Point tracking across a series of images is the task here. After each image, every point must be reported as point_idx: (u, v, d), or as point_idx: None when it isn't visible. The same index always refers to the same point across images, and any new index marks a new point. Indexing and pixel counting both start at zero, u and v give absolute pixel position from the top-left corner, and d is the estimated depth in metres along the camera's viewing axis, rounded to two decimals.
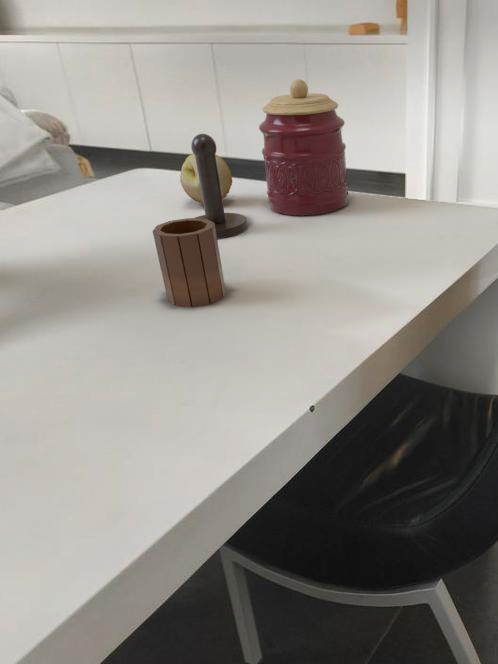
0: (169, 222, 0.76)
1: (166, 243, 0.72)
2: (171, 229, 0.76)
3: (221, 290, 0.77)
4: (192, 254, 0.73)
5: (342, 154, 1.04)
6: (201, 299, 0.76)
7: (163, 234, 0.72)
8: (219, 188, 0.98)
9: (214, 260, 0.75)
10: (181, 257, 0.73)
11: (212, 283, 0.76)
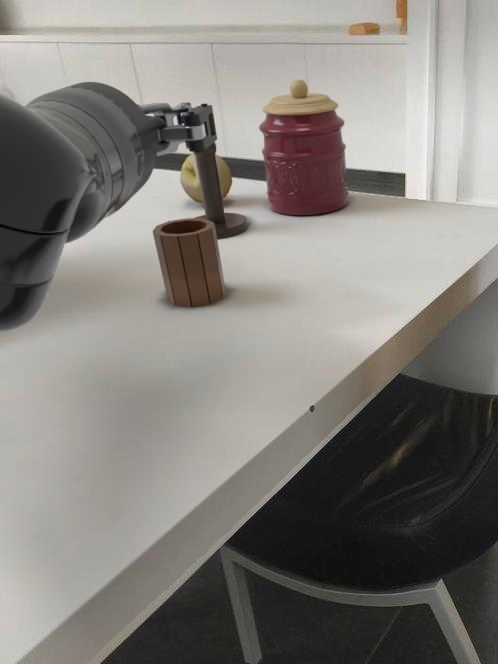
0: (169, 222, 0.76)
1: (166, 243, 0.72)
2: (171, 229, 0.76)
3: (221, 290, 0.77)
4: (192, 254, 0.73)
5: (342, 154, 1.04)
6: (201, 299, 0.76)
7: (163, 234, 0.72)
8: (219, 188, 0.98)
9: (214, 260, 0.75)
10: (181, 257, 0.73)
11: (212, 283, 0.76)
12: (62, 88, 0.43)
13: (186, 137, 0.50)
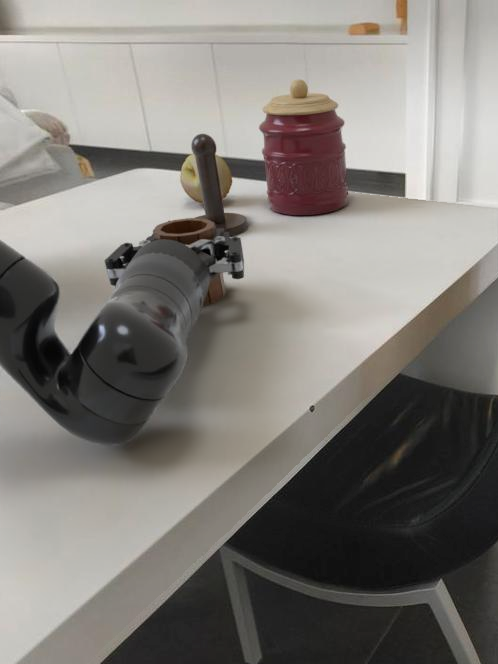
0: (170, 222, 0.76)
1: None
2: (171, 229, 0.76)
3: (221, 290, 0.77)
4: None
5: (342, 154, 1.04)
6: None
7: (163, 234, 0.72)
8: (219, 188, 0.98)
9: None
10: None
11: (212, 283, 0.76)
12: (148, 253, 0.62)
13: (231, 269, 0.69)
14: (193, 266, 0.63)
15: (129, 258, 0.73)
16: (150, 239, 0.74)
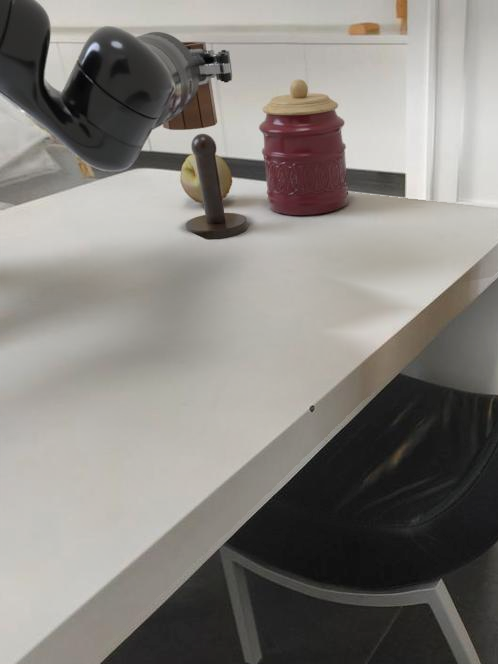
0: None
1: None
2: None
3: (211, 110, 0.83)
4: None
5: (342, 154, 1.04)
6: (193, 115, 0.82)
7: None
8: (219, 188, 0.98)
9: None
10: None
11: (203, 100, 0.81)
12: None
13: (219, 71, 0.75)
14: (183, 52, 0.69)
15: None
16: None
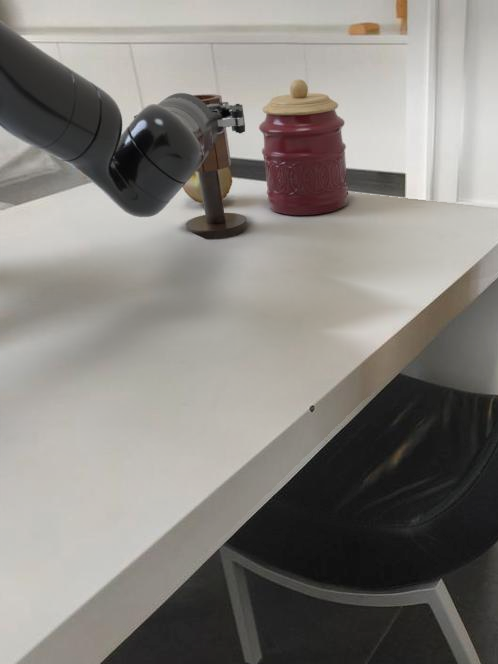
0: None
1: None
2: None
3: (226, 154, 0.94)
4: None
5: (342, 154, 1.04)
6: (210, 159, 0.93)
7: None
8: (219, 188, 0.98)
9: None
10: None
11: (219, 146, 0.93)
12: (170, 98, 0.79)
13: (234, 124, 0.86)
14: (205, 111, 0.81)
15: None
16: None
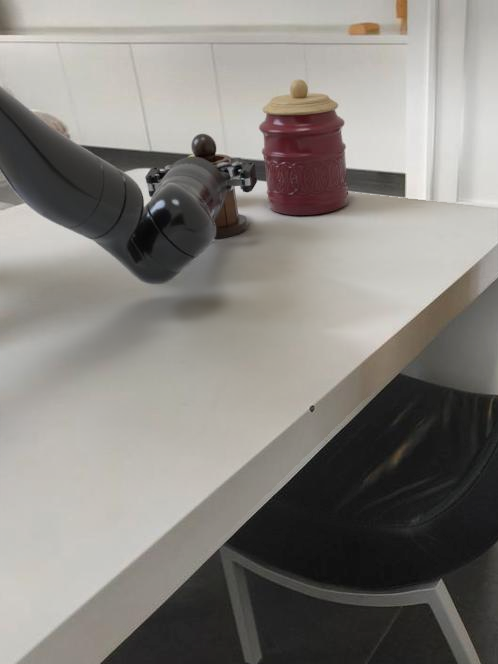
0: None
1: None
2: None
3: (235, 210, 0.99)
4: None
5: (342, 154, 1.04)
6: (219, 216, 0.98)
7: None
8: None
9: None
10: None
11: (228, 204, 0.98)
12: (182, 163, 0.83)
13: (241, 184, 0.90)
14: (215, 175, 0.85)
15: None
16: (173, 165, 0.95)
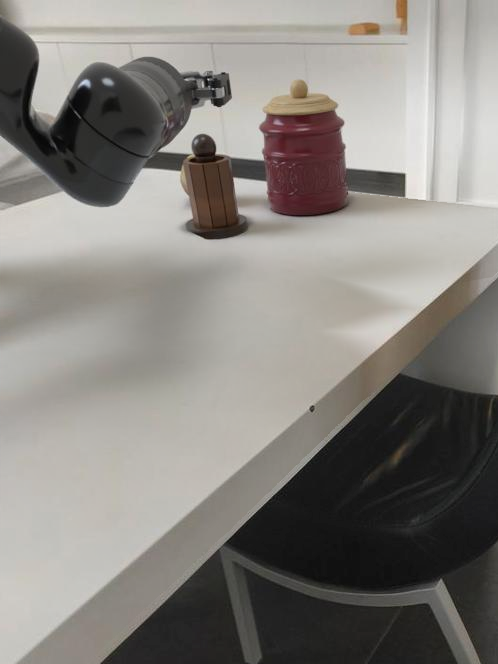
0: None
1: (193, 170, 0.94)
2: None
3: (235, 210, 0.99)
4: (213, 179, 0.95)
5: (342, 154, 1.04)
6: (219, 216, 0.98)
7: (191, 163, 0.94)
8: None
9: (230, 185, 0.97)
10: (205, 181, 0.95)
11: (228, 204, 0.98)
12: (133, 61, 0.66)
13: (211, 96, 0.73)
14: (176, 78, 0.68)
15: None
16: None
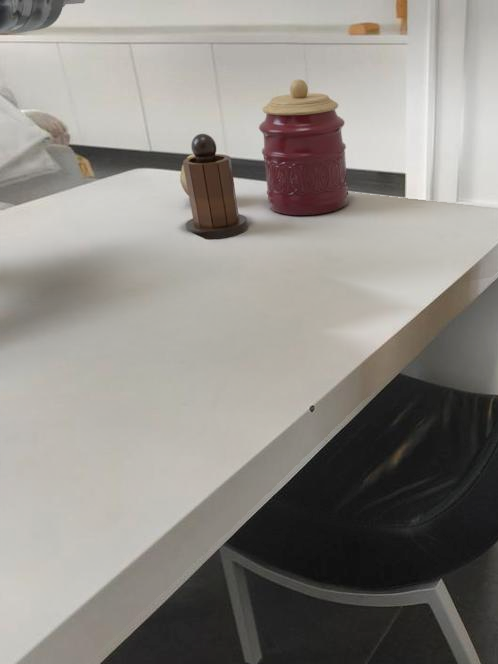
0: None
1: (193, 170, 0.94)
2: None
3: (235, 210, 0.99)
4: (213, 179, 0.95)
5: (342, 154, 1.04)
6: (219, 216, 0.98)
7: (191, 163, 0.94)
8: None
9: (230, 185, 0.97)
10: (205, 181, 0.95)
11: (228, 204, 0.98)
12: None
13: None
14: None
15: None
16: None
